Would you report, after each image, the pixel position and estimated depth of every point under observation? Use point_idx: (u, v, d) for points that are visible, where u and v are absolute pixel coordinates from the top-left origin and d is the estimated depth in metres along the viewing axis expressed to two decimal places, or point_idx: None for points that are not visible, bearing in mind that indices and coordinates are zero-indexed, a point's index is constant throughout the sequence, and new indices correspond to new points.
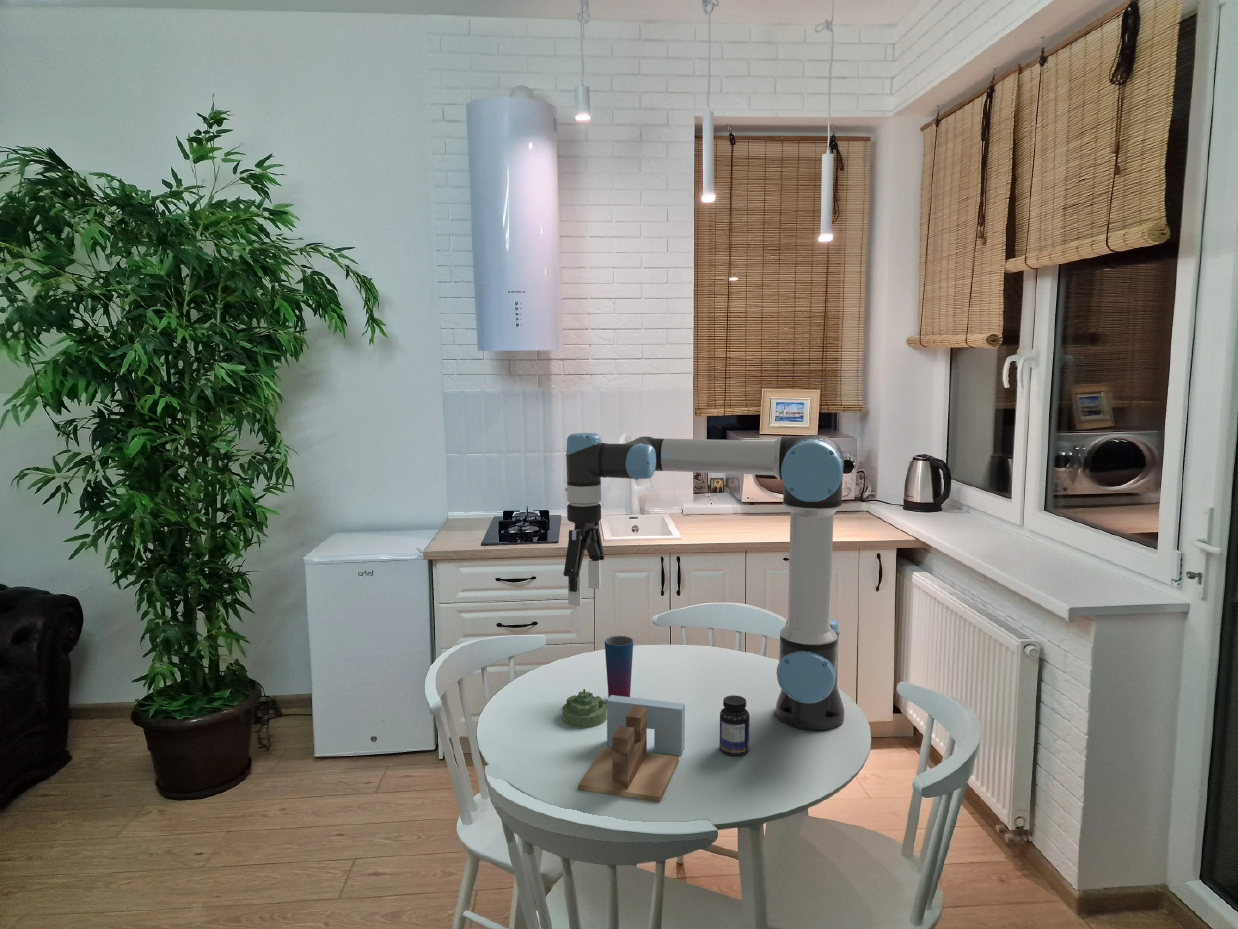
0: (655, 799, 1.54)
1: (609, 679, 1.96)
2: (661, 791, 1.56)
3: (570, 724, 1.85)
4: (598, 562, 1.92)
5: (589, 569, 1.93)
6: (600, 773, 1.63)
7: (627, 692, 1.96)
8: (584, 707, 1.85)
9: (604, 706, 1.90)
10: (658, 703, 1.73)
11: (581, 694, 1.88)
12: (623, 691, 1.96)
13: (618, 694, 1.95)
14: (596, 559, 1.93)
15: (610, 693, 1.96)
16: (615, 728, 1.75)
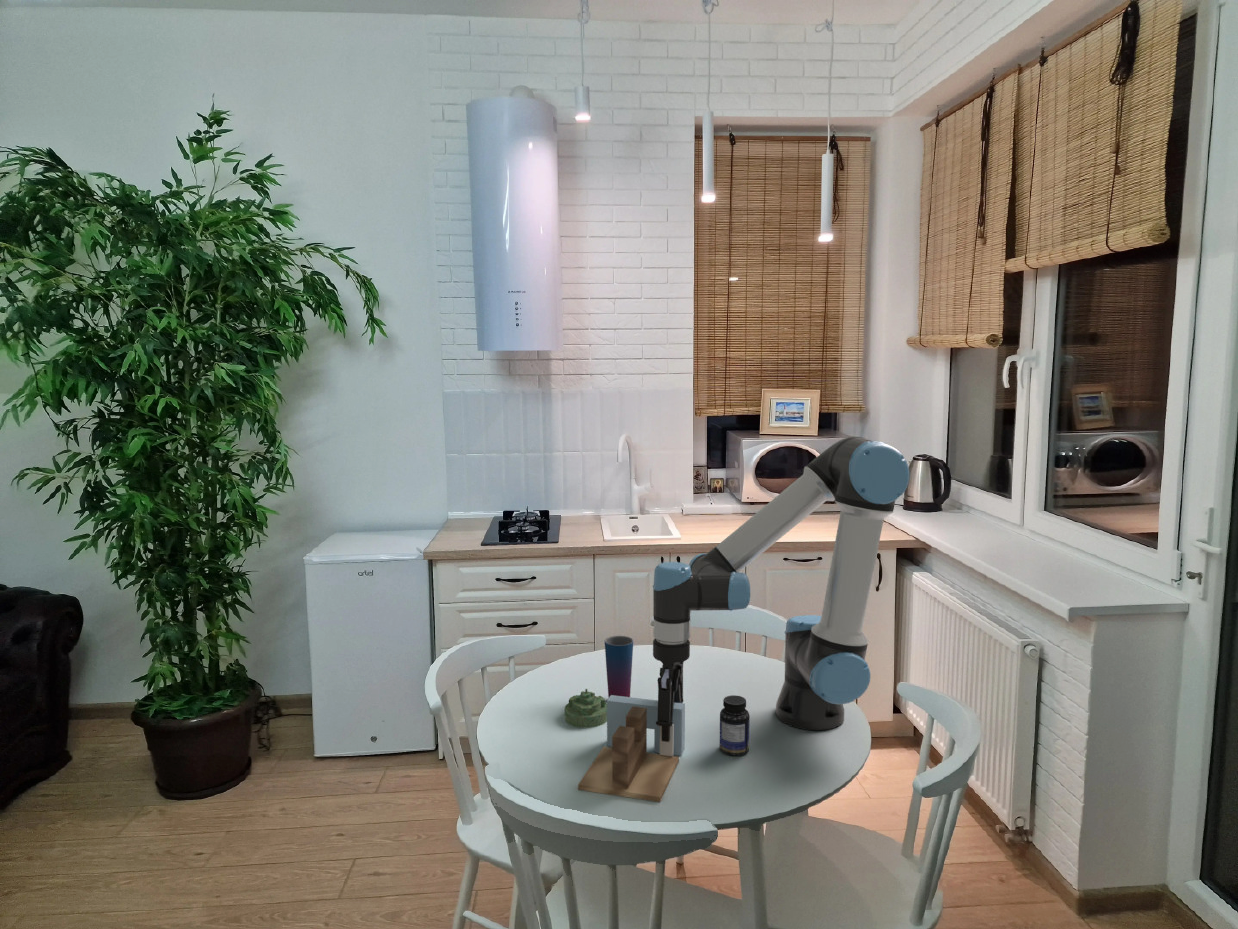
0: (655, 799, 1.54)
1: (609, 679, 1.96)
2: (661, 791, 1.56)
3: (572, 724, 1.86)
4: None
5: None
6: (600, 773, 1.63)
7: (627, 692, 1.96)
8: (586, 707, 1.85)
9: (606, 706, 1.90)
10: None
11: (583, 694, 1.88)
12: (623, 691, 1.96)
13: (618, 694, 1.95)
14: None
15: (610, 693, 1.96)
16: (615, 728, 1.75)
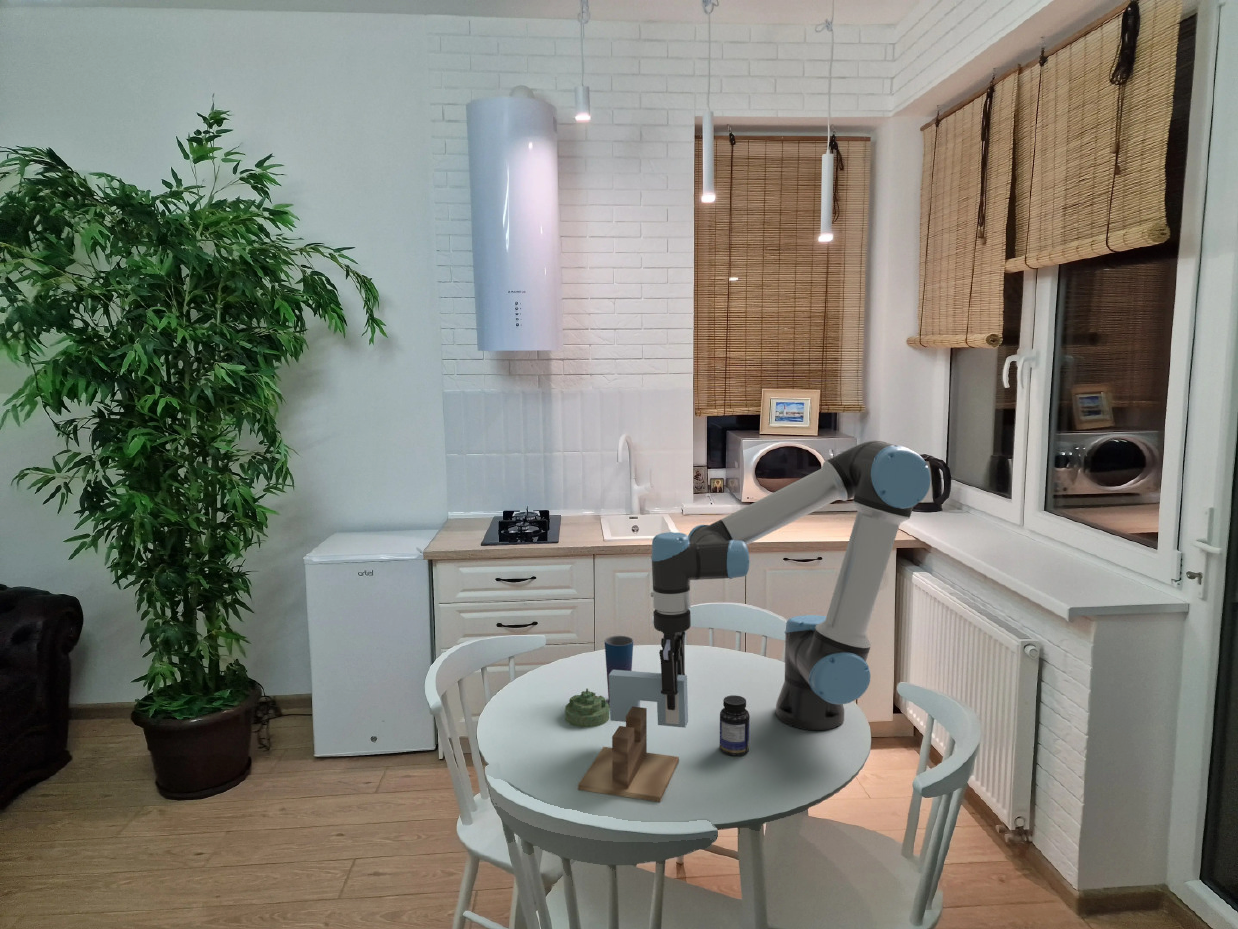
0: (655, 799, 1.54)
1: None
2: (661, 791, 1.56)
3: (573, 724, 1.86)
4: None
5: None
6: (600, 773, 1.63)
7: None
8: (587, 707, 1.86)
9: (607, 706, 1.90)
10: (660, 675, 1.72)
11: (584, 694, 1.88)
12: None
13: None
14: None
15: None
16: (618, 702, 1.74)
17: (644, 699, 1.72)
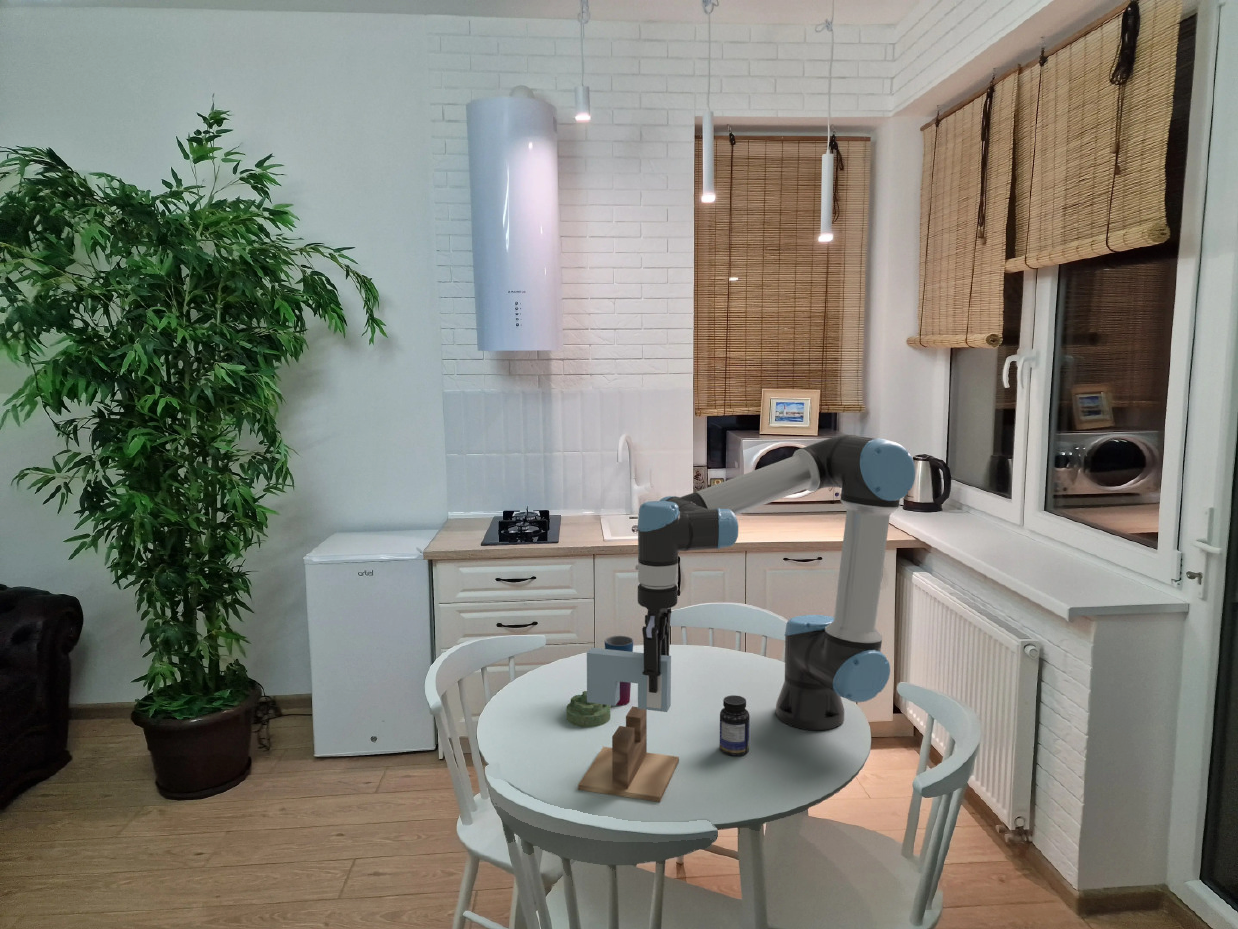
0: (655, 799, 1.54)
1: None
2: (661, 791, 1.56)
3: (574, 723, 1.86)
4: None
5: None
6: (600, 773, 1.63)
7: (627, 692, 1.96)
8: (588, 706, 1.86)
9: (608, 705, 1.90)
10: (643, 655, 1.60)
11: (585, 693, 1.88)
12: (623, 691, 1.96)
13: None
14: None
15: None
16: (595, 683, 1.61)
17: (624, 680, 1.60)
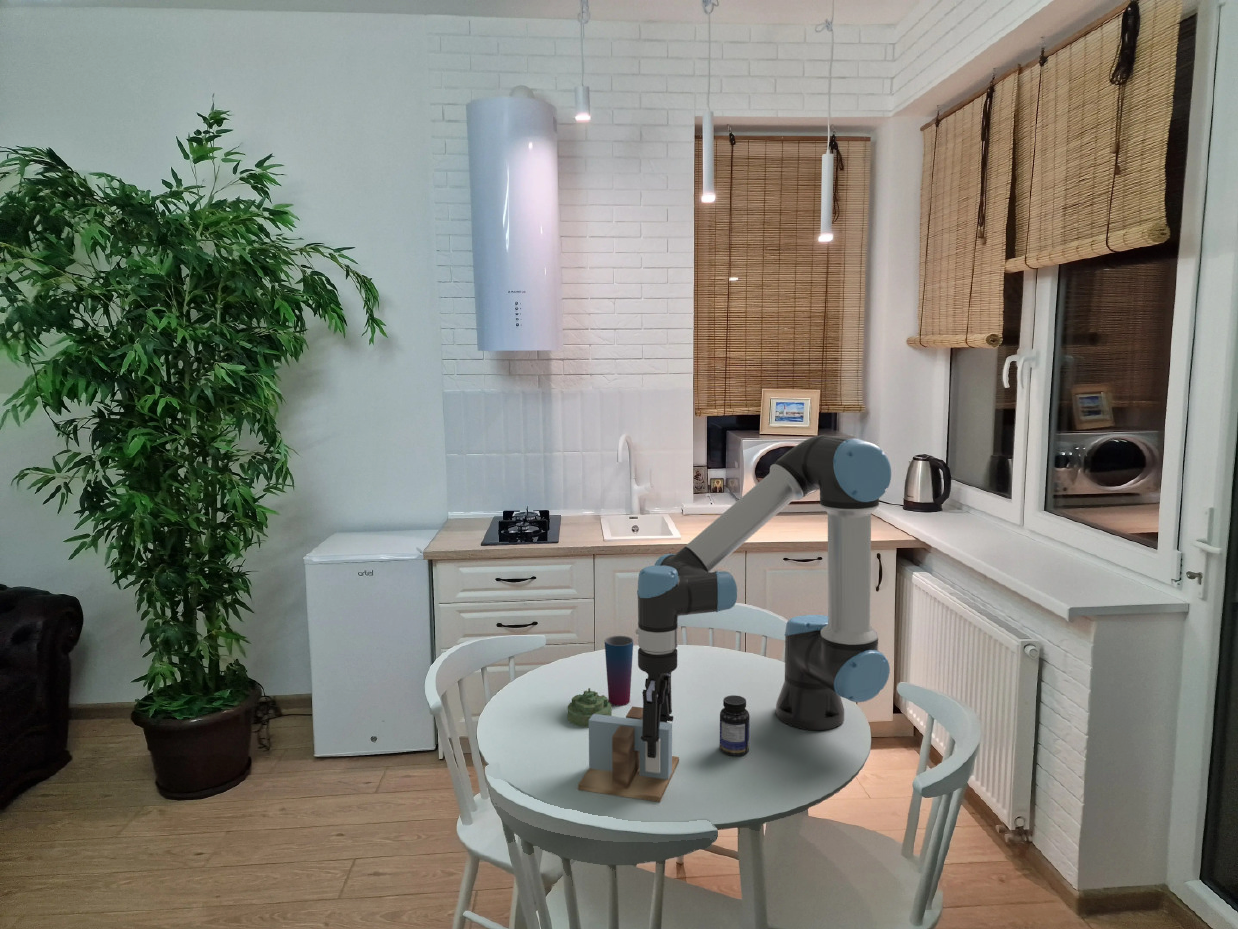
0: (655, 799, 1.54)
1: (609, 679, 1.96)
2: (661, 791, 1.56)
3: (575, 723, 1.86)
4: None
5: None
6: (600, 773, 1.63)
7: (627, 692, 1.96)
8: (589, 706, 1.86)
9: (609, 705, 1.90)
10: None
11: (586, 693, 1.88)
12: (623, 691, 1.96)
13: (618, 694, 1.95)
14: (664, 719, 1.64)
15: (610, 693, 1.96)
16: (597, 749, 1.63)
17: None
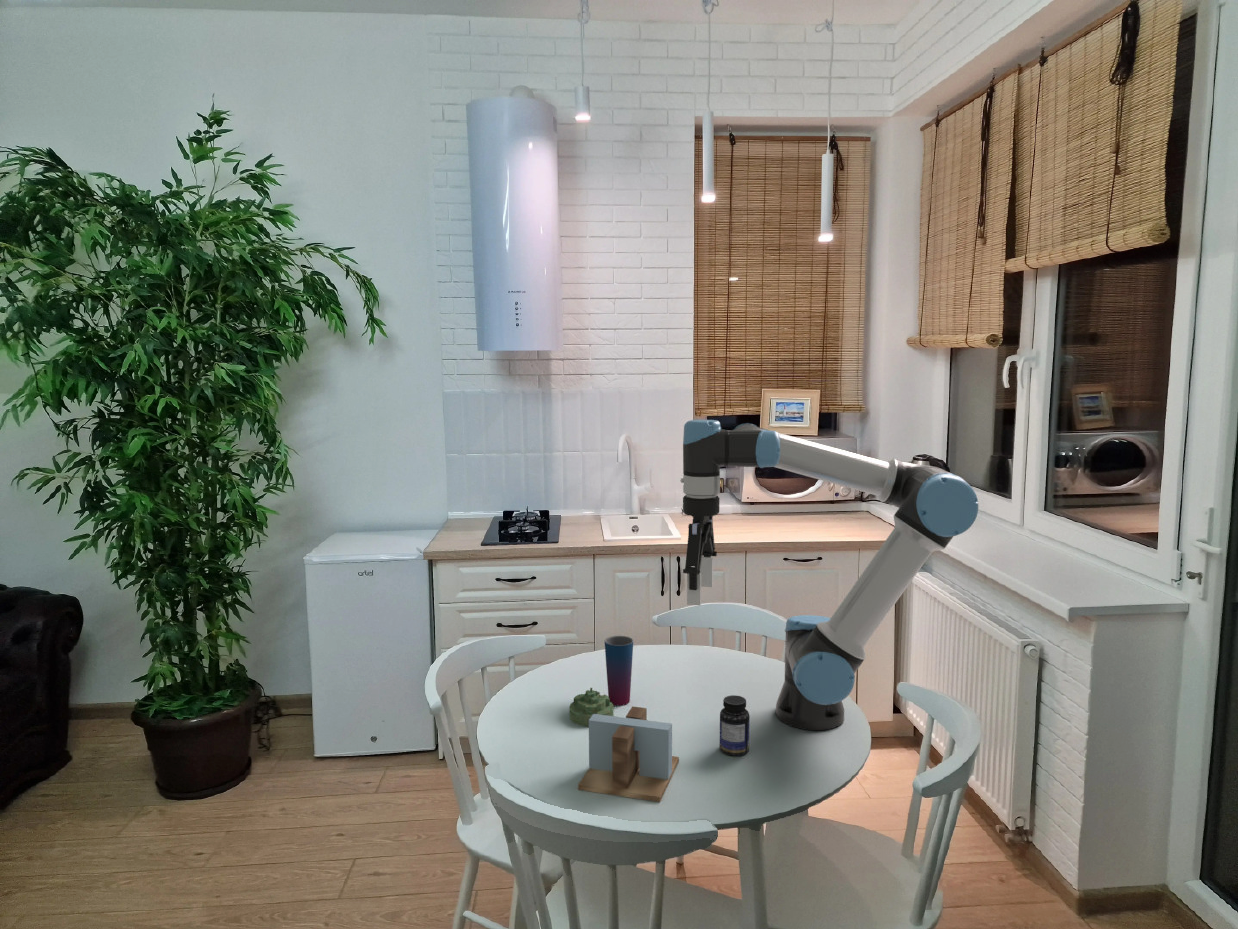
0: (655, 799, 1.54)
1: (609, 679, 1.96)
2: (661, 791, 1.56)
3: (577, 723, 1.86)
4: (711, 558, 1.80)
5: (701, 566, 1.80)
6: (600, 773, 1.63)
7: (627, 692, 1.96)
8: (591, 706, 1.86)
9: (611, 705, 1.91)
10: (644, 723, 1.62)
11: (588, 693, 1.89)
12: (623, 691, 1.96)
13: (618, 694, 1.95)
14: (708, 555, 1.80)
15: (610, 693, 1.96)
16: (597, 749, 1.63)
17: None
